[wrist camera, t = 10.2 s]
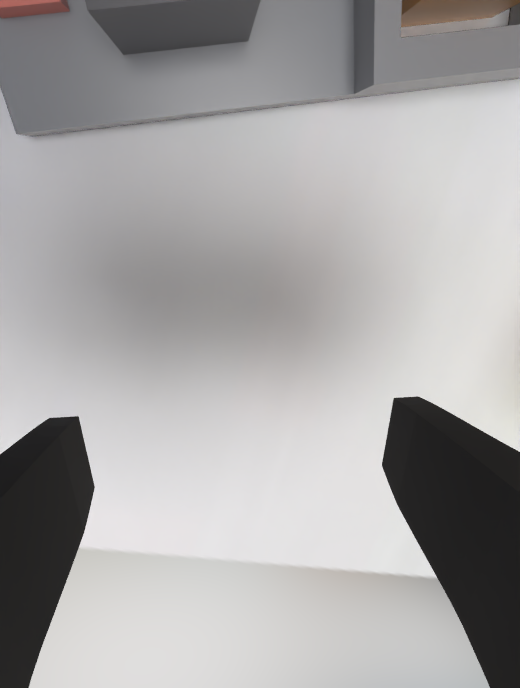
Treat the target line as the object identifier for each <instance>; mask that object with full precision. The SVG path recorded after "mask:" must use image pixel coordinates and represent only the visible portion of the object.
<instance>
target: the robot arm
mask: <svg viewBox="0 0 520 688" xmlns="http://www.w3.org/2000/svg"><path fill="white" fill-rule="evenodd" d="M382 467H383V469H384V472H385V475H386V477H387V480H388V483H389V485H390V488H391V490H392V493H393V495H394V498H395V500H396V502H397V505H398V507H399V509H400V510H401V512H402V514H403V516H404V518H405V520H406V522H407V523H408V525H409V527H410V529H411V531H412V533H413V534H414V536H415V538H416V540H417V542H418V544H419V545H420V547H421V549H422V551H423V553H424V554H425V556H426V558H427V560H428V562H429V563H430V565H431V567H432V569H433V571H434V572H435V574H436V576H437V578H438V580H439V581H440V583H441V585H442V587H443V589H444V590H445V592H446V594H447V596H448V598H449V599H450V601H451V603H452V605H453V607H454V609H455V611H456V613H457V615H458V617H459V619H460V621H461V623H462V625H463V627H464V630H465V632H466V634H467V636H468V638H469V641H470V643H471V645H472V647H473V650H474V652H475V654H476V656H477V659H478V661H479V663H480V665H481V667H482V670H483V672H484V674H485V676H486V679H487V681H488V684H489V686H490V688H520V452H519V451H517V450H515V449H513V448H511V447H509V446H508V445H506V444H504V443H502V442H500V441H499V440H497V439H495V438H493V437H491V436H490V435H488V434H486V433H484V432H483V431H481V430H479V429H477V428H476V427H474V426H472V425H470V424H469V423H467V422H465V421H463V420H461V419H460V418H458V417H456V416H454V415H453V414H451V413H449V412H447V411H446V410H444V409H442V408H440V407H438V406H436V405H435V404H433V403H431V402H429V401H427V400H425V399H422V398H420V397H404V398H394V400H393V406H392V412H391V417H390V423H389V428H388V434H387V440H386V445H385V451H384V457H383V462H382ZM94 488H95V487H94V483H93V478H92V474H91V469H90V465H89V461H88V456H87V452H86V447H85V443H84V439H83V434H82V430H81V426H80V421H79V417H78V416H77V417H60V418H49V419H47V420H46V421H44V422H43V423H41V424H40V425H39V426H37V427H36V428H34V429H33V430H32V431H30V432H29V433H28V434H26V435H25V436H24V437H22V438H21V439H20V440H19V441H17V442H16V443H15V444H13V445H12V446H11V447H9V448H8V449H7V450H6V451H4V452H3V453H2V454H0V688H28V687H29V684H30V680H31V677H32V674H33V671H34V668H35V665H36V662H37V659H38V656H39V653H40V650H41V647H42V644H43V641H44V639H45V636H46V634H47V631H48V628H49V626H50V623H51V620H52V618H53V615H54V612H55V610H56V607H57V604H58V602H59V599H60V596H61V594H62V591H63V588H64V586H65V583H66V580H67V578H68V575H69V572H70V570H71V567H72V564H73V561H74V559H75V556H76V553H77V550H78V548H79V545H80V542H81V539H82V537H83V534H84V530H85V526H86V522H87V518H88V514H89V510H90V506H91V501H92V497H93V492H94Z"/></svg>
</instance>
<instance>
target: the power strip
mask: <svg viewBox="0 0 520 688" xmlns="http://www.w3.org/2000/svg"><path fill="white" fill-rule="evenodd" d="M401 13H402V0H0V87H1V90H2V93H3V96H4V99H5V102H6V105H7V108H8V111H9V114H10V116H11V119H12V122H13V125H14V128H15V131H16V134H19V135H26V136H38V135H47V134H55V133H63V132H72V131H80V130H89V129H97V128H106V127H114V126H122V125H131V124H139V123H148V122H156V121H165V120H173V119H181V118H190V117H198V116H207V115H215V114H224V113H232V112H240V111H249V110H257V109H266V108H274V107H282V106H291V105H299V104H308V103H316V102H325V101H333V100H341V99H350V98H358V97H367V96H375V95H384V94H392V93H400V92H409V91H417V90H426V89H434V88H443V87H451V86H459V85H468V84H476V83H485V82H493V81H501V80H510V79H518V78H520V3H518V4H517V5H515V6H513V7H511V11H510V19H509V26H501V27H492V28H483V29H474V30H465V31H456V32H447V33H438V34H429V35H420V36H411V37H402V38H401Z"/></svg>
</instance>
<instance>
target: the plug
mask: <svg viewBox="0 0 520 688" xmlns="http://www.w3.org/2000/svg"><path fill="white" fill-rule="evenodd" d="M518 3H520V0H402V13H401V27H407V26H416V25H426V24H435V23H445V22H454V21H464V20H473V19H483V18H492V17H494V16H495V15H497V14H499V13H501V12H503V11H505V10H507V9H509V8H511V7H513V6H515V5H517V4H518Z"/></svg>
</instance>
